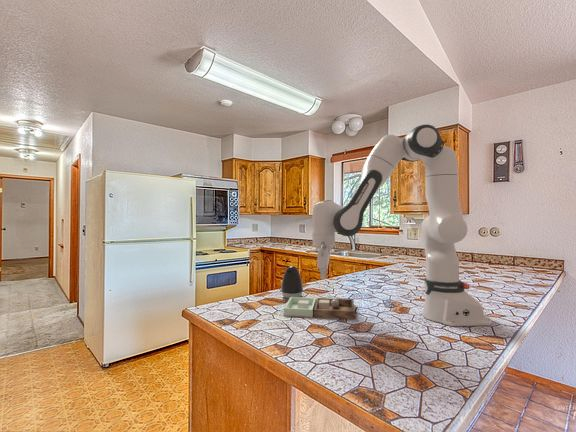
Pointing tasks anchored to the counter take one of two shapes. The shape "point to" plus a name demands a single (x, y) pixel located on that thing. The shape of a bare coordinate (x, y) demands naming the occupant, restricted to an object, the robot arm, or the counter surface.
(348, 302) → the walnut crate
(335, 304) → the round pebble
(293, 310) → the green tray
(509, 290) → the counter surface
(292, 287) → the black rounded cone
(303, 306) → the small beige block
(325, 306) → the beige cube
